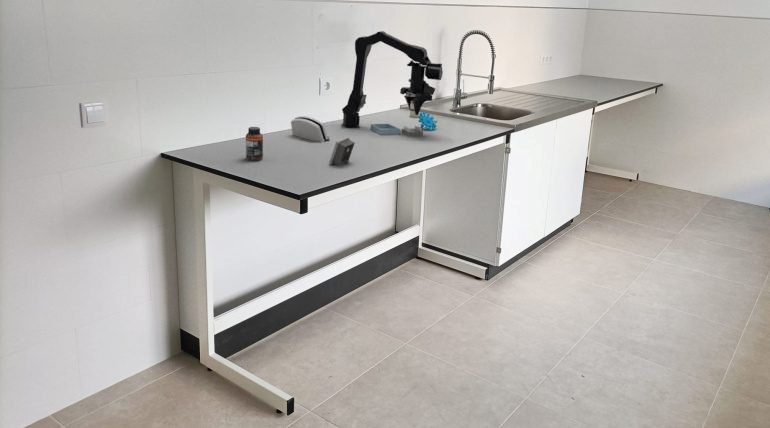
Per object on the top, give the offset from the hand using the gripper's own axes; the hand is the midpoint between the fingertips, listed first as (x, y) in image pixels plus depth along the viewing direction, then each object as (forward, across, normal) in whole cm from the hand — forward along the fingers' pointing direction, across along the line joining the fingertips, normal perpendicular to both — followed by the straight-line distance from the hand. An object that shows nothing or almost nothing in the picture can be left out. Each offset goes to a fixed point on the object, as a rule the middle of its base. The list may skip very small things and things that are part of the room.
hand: (414, 113), depth 287 cm
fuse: (+2, 0, 0) cm, 2 cm away
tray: (+9, +7, +10) cm, 15 cm away
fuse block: (+9, 0, 0) cm, 9 cm away
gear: (+10, +10, -13) cm, 19 cm away
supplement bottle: (+10, -26, +78) cm, 83 cm away
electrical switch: (+10, -37, +49) cm, 62 cm away
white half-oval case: (+10, +2, +48) cm, 49 cm away
